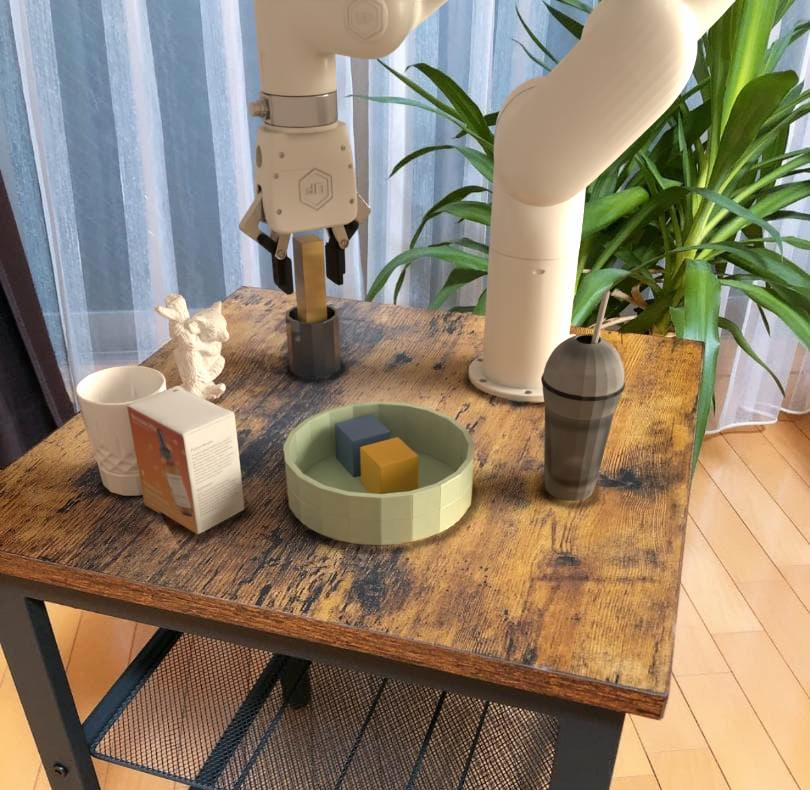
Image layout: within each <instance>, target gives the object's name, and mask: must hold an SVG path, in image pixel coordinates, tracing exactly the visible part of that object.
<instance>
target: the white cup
mask: <svg viewBox="0 0 810 790" xmlns="http://www.w3.org/2000/svg"><path fill="white" fill-rule="evenodd" d="M166 382H167V381H166V377H165V375H164V374H163V373H162V372H160V371H159V370H157V369H155V368H152V367H148V366H142V365H141V366H140V365H119V366H113V367H112V366H111V367H108V368H107V367H106V368H103V369H100V370H97V371H94V372H92V373H90V374H87V376H85V377H83V378H82V379H81V380H79V382H77V383H76V386H75V390H74V391H75V395H76V399H77V402H78V406H79V409H80V412H81V417H82V421H83V423H84V427H85V431H86V434H87V438H88V440H89V444H90V446H91V450H92V454H93V457H94V459H95V461H96V463H97V467H98V470H99V475H100V479H101V482H102V485H103V487H105V488H106V489H107V490H108V491H109V492H110V493H113V494H117V495H120V496H124V497H132V496H133V497H135V496H137V497H138V496H143V492H142V487H141V481H140V476H139V470H138V465H137V459H136V454H135V448H134V443H133V437H132V432H131V426H130V420H129V415H128V409H127V406H128V405H130V404H132V403H135V402H137V401H140V400H142V399H145V398H147V397H150V396H152V395H155V394H157V393H159V392H162V391H164V390H167V383H166Z"/></svg>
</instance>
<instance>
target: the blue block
mask: <svg viewBox="0 0 810 790" xmlns="http://www.w3.org/2000/svg"><path fill="white" fill-rule="evenodd" d="M335 437H336V459H337V460H338V461H339V462H340V463H341V464H342V465H343V466H344V468H345V469H346V470H347V471H348V472H349V473H350V474H351V475H352V476H353V477H358V476H361V459H360V447H362V446H366V445H370V444H374V443H377V442H381V441H385V440H388V439H390V431H389V430H388V429H387V428H386V427H385V426H384V425H383V424H382V423H381V422H380V421H378V420H377V419H376V418H375V417H374V416H373V415H372V414H371V415H366V416H362V417H358V418H354V419H350V420H346V421H342V422H338V423H335Z"/></svg>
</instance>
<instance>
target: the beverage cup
mask: <svg viewBox="0 0 810 790" xmlns="http://www.w3.org/2000/svg"><path fill="white" fill-rule="evenodd" d="M610 294H611V291H610V290H609V289H604V290H603V294H602V297H601V300H600V305H599V309H598V314H597V318H596V322H595V324H594V325H595V326H594V330H593V334H590V333H584V334H583V333H582V334H575V335H576V336H573V337H570V338H568V339H566V340H565V341H563V342H562V343H560V344H559V345H558V346H557V347H556V348H555V349H554V350H553V352H552V353H551V355H550V357H549V359H548V361H547V363H546V365H545V368H544V373H543V375H542V377H541V381H542V385H543V387H542V388H543V397H544V402H543V403H544V447H543V448H544V450H543V451H544V452H543V453H544V454H543V455H544V456H543V457H544V458H543V477H544V487H545V490H546V491H547V493H548V494H549V495H550V496H553V498H556V499H559V500H562V501H568V502H569V501H571V502H575V501H582V500H585V499H588V498H589V497H590V496H592V495H593V493H594V491H595V487H596V486H597V483H598V480H599V479H598V478H599V475H600V472H601V466H602V463H603V460H604V454H605V451H606V447H607V443H608V439H609V435H610V432H611V427H612V423H613V419H614V414H615V411H616V410H617V408H618V405H619V402H620V400H621V398H622V394H623V393H624V390H625V388H626V380H625V367H624V364H623V361H622V358H621V356H620V353H619V352H618V350H617V349H616V348H615V346H614V345H613V344H611V342H609V341H608V340H606V339H605V338H603V337H601V336H600V334H601V330H602V326H603V323H604V322H603V321H604V317H605V314H606V310H607V305H608V301H609V298H610Z"/></svg>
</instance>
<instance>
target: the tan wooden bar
mask: <svg viewBox="0 0 810 790" xmlns="http://www.w3.org/2000/svg"><path fill="white" fill-rule="evenodd" d="M291 239H292V251H293V252H292V255H293V267H294V268H293V269H294V270H293V271H294V282H295V297H296V306H297V313H298V321H300V322H310V323H313V322H322V321H325V320H327V305H328V304H327V288H326V263H325V245H324V239H322V238H321V237H320V236H318V235H316V234H315V233H310V234H303V235H298V236H292V238H291Z"/></svg>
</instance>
